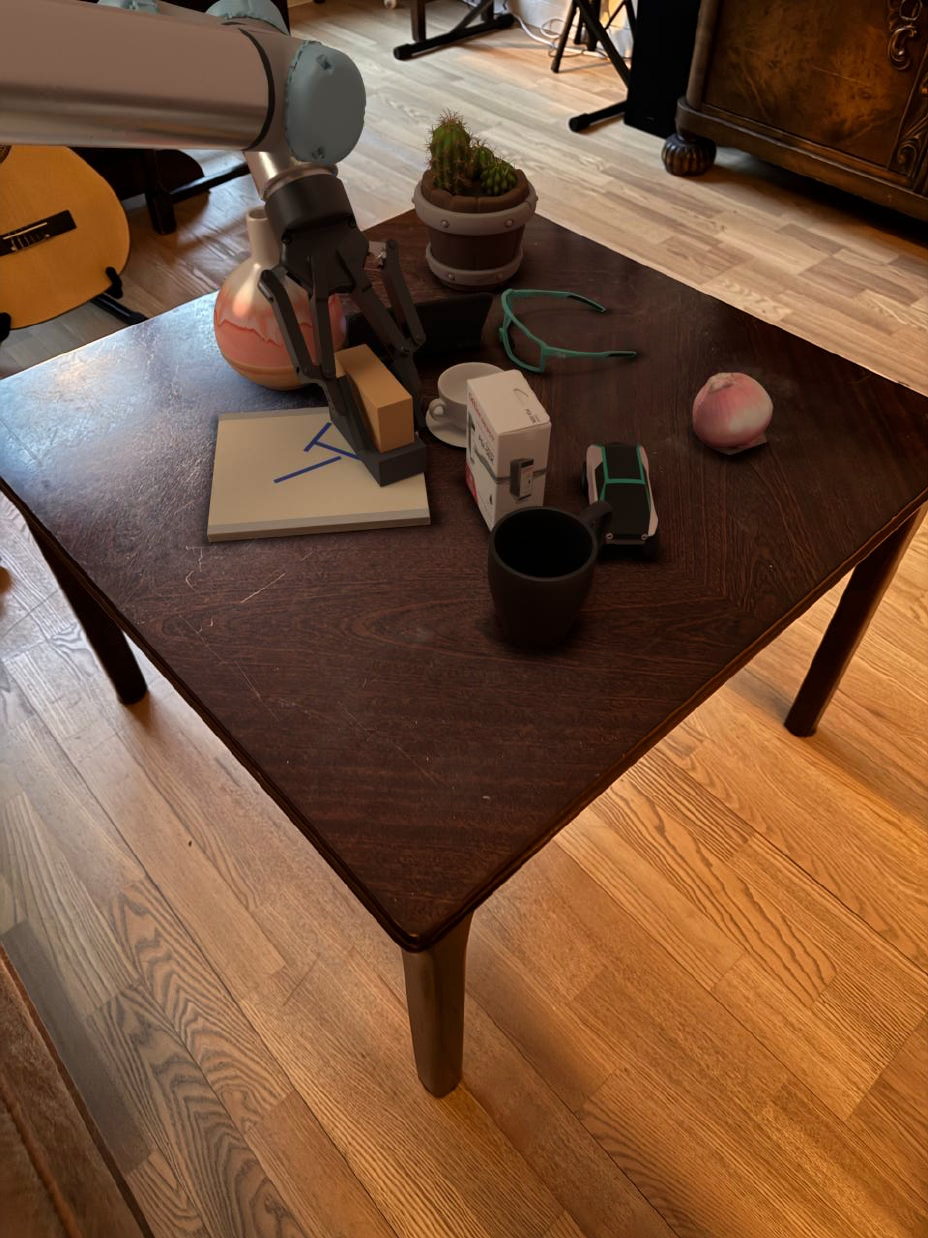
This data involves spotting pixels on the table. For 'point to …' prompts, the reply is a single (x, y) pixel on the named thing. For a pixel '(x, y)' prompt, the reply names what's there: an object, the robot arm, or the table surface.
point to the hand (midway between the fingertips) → (391, 437)
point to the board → (300, 480)
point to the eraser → (381, 417)
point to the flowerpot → (472, 210)
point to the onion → (732, 413)
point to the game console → (430, 325)
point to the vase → (265, 316)
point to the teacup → (454, 402)
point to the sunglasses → (545, 349)
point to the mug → (544, 569)
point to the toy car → (623, 494)
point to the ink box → (505, 444)
